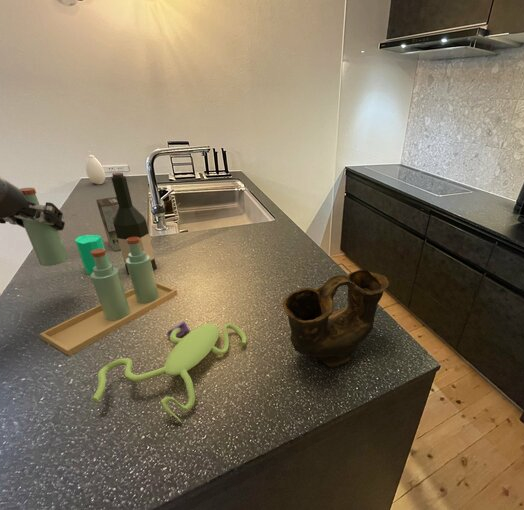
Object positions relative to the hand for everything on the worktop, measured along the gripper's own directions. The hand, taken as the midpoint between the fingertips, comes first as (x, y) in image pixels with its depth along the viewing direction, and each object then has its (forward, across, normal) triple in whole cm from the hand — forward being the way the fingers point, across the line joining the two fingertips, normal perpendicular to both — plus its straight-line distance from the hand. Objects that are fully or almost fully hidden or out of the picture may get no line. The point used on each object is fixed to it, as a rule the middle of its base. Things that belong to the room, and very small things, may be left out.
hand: (47, 226), depth 72 cm
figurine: (-5, -33, +34) cm, 48 cm away
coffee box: (+38, +2, -9) cm, 39 cm away
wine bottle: (+24, -12, +5) cm, 27 cm away
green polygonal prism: (+25, +1, +4) cm, 26 cm away
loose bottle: (+5, 0, +7) cm, 8 cm away
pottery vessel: (-4, -66, +32) cm, 74 cm away
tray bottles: (+10, -16, +18) cm, 26 cm away
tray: (+8, -14, +20) cm, 26 cm away
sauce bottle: (+94, +45, -65) cm, 123 cm away
